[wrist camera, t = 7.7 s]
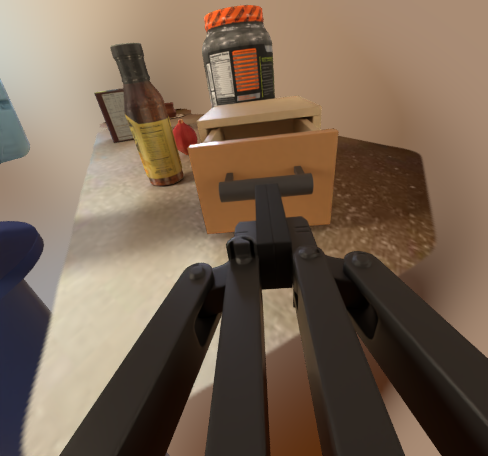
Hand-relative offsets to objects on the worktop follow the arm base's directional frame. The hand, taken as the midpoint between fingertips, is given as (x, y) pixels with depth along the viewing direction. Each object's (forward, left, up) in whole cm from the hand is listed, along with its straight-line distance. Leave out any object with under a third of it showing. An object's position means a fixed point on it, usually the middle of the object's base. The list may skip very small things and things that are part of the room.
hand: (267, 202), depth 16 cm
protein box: (-48, +79, -7) cm, 93 cm away
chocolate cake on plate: (-47, +128, -7) cm, 137 cm away
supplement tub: (-3, +52, -7) cm, 53 cm away
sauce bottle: (-17, +26, -7) cm, 32 cm away
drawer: (0, +11, -6) cm, 13 cm away
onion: (-17, +43, -7) cm, 47 cm away
